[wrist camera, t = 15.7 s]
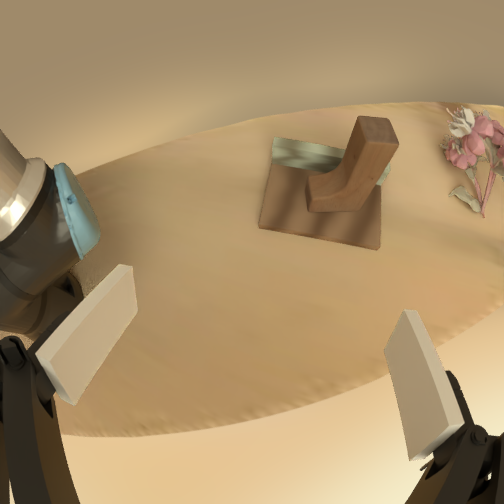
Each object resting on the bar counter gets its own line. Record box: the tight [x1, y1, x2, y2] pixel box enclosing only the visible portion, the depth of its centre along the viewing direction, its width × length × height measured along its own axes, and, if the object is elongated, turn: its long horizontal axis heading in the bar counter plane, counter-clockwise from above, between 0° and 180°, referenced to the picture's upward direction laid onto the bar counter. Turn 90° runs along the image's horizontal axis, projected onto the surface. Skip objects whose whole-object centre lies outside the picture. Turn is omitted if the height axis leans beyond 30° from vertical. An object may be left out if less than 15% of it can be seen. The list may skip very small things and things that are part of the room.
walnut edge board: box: [259, 137, 390, 250], centre depth 45 cm, size 20×14×6 cm
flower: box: [439, 106, 504, 218], centre depth 40 cm, size 20×22×25 cm
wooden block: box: [305, 116, 399, 212], centre depth 37 cm, size 9×4×18 cm, turn 92°
